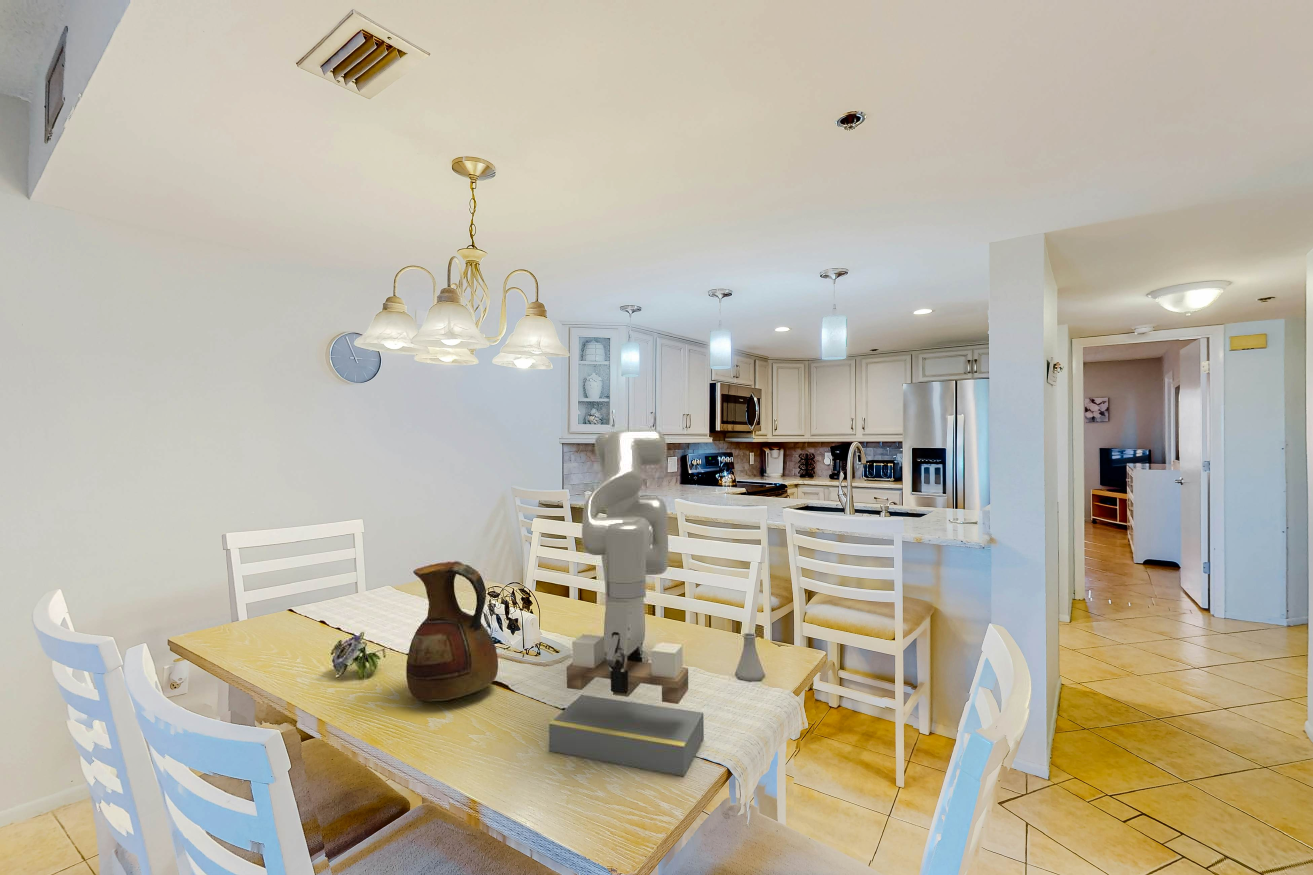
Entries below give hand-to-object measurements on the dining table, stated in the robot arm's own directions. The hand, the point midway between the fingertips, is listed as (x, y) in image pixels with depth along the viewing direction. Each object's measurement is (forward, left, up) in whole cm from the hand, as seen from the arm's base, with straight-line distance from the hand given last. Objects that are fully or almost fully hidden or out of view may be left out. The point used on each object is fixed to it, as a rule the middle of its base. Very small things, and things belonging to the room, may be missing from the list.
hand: (627, 683), depth 108 cm
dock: (0, 0, -11) cm, 11 cm away
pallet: (0, 0, -1) cm, 1 cm away
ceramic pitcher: (-47, +9, -12) cm, 49 cm away
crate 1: (-8, 0, +3) cm, 9 cm away
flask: (+16, +39, -12) cm, 44 cm away
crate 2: (+8, 0, +3) cm, 9 cm away
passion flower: (-78, +11, -12) cm, 80 cm away
